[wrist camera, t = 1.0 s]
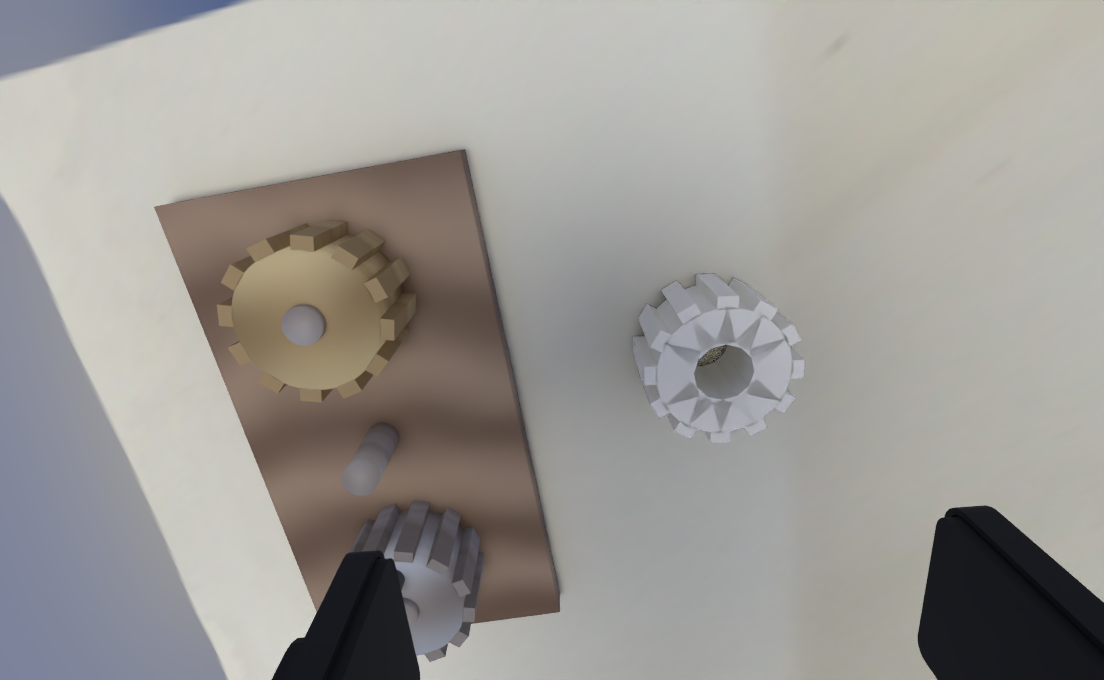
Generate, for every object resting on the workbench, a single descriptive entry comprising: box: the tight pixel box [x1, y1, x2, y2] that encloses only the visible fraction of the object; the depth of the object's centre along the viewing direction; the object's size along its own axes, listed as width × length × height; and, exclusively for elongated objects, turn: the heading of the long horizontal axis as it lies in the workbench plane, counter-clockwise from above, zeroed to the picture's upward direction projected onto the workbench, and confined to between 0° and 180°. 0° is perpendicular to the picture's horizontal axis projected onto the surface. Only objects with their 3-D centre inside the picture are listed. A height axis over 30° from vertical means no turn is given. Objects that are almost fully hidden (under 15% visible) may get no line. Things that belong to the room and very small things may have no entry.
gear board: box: [154, 150, 560, 662], centre depth 28 cm, size 26×14×8 cm, turn 10°
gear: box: [633, 274, 805, 443], centre depth 28 cm, size 7×7×4 cm
